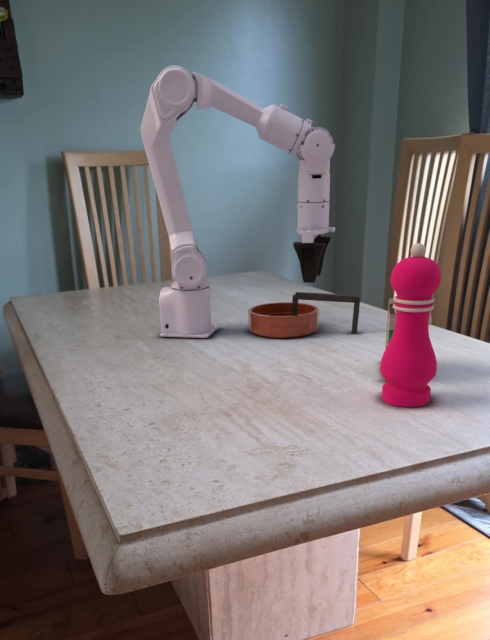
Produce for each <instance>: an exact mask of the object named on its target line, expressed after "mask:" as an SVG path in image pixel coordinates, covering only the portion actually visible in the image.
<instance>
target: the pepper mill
mask: <svg viewBox="0 0 490 640" xmlns="http://www.w3.org/2000/svg"><path fill="white" fill-rule="evenodd" d="M426 251H427V250H426V247H425V245H424V244H423V243H421V242H417V243H414V244H413V245H412V246H411V247H410V255H411V256H408V257H405V258H403V259H401V260H400V261H398V262H397V263H396V264H395V265H394V267H393V269H392V271H391V275H390V286H391V288H392V289H393V291H394V292H395V294H396V295H395V296H394V297H393V298H392V299H393V300H394V305H393V308H394V309H395V310H396V323H395V329H394V332H393V335H392V338H391V340H390V342H389V344H388V346H387V348H386V347H385V348H386V349H384V351H383V354H382V356H381V359H380V365H379V372H380V375H381V376H382V378H383V379H384V381H385V380H386V382H385V383H383V385H382V386H381V399H382V401H383V402H384V403H386V404H388V405H392V406H395V407H403V408H415V407H416V408H417V407H421V406H425V405H427V404H429V402H430V400H431V391H432V388H431V386H430V385H429V383H430V382H431V381H432V380H434V378H435V377H436V375H437V372H438V369H437V368H438V360H437V356H436V353H435V350H434V347H433V344H432V342H431V338H430V332H429V327H430V326H429V325H430V324H429V315H430V311H432V310H434V309H435V305H434V302H435V300H436V298H435V296H433V295H434V293H436V292H437V290H438V289H439V287H440V285H441V281H442V271H441V268H440V266H439V264H438V263H437V262H436V261H435V260H433V259H432V258H430V257H426V256H425V254H426Z"/></svg>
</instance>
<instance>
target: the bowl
mask: <svg viewBox="0 0 490 640" xmlns="http://www.w3.org/2000/svg"><path fill="white" fill-rule="evenodd" d="M247 314H248V315H247V317H248V331H249V332H250V333H251V334H252V333H253V334H255V335H257V336H259V337H263V338H269V339H293V338H301V337H305V336H308V335H310V334H312V333H315V332H317V331H318V329H319V308H318V306H316V305H313V304H309V303H304V302H302V303H301V302H298V315H295V316H292V301H291V302H289V301H286V302H283V301H282V302H281V301H280V302H268V303H261V304H257V305H253V306H251V307H250V308H248V310H247Z"/></svg>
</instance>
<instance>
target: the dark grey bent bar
mask: <svg viewBox="0 0 490 640" xmlns="http://www.w3.org/2000/svg"><path fill="white" fill-rule="evenodd" d="M299 300H301V301H316V302H317V301H318V302H335V303H349V304H350V303H351V304H353V311H352V322H351V334H358V327H359V317H360V305H361V295H360V294H344V293H343V294H342V293H341V294H340V293H325V292H324V293H323V292H306V291H296V292H295V293H294V294H293V295H292V300H291V302H292V316H295V315H298V303H299Z"/></svg>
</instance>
